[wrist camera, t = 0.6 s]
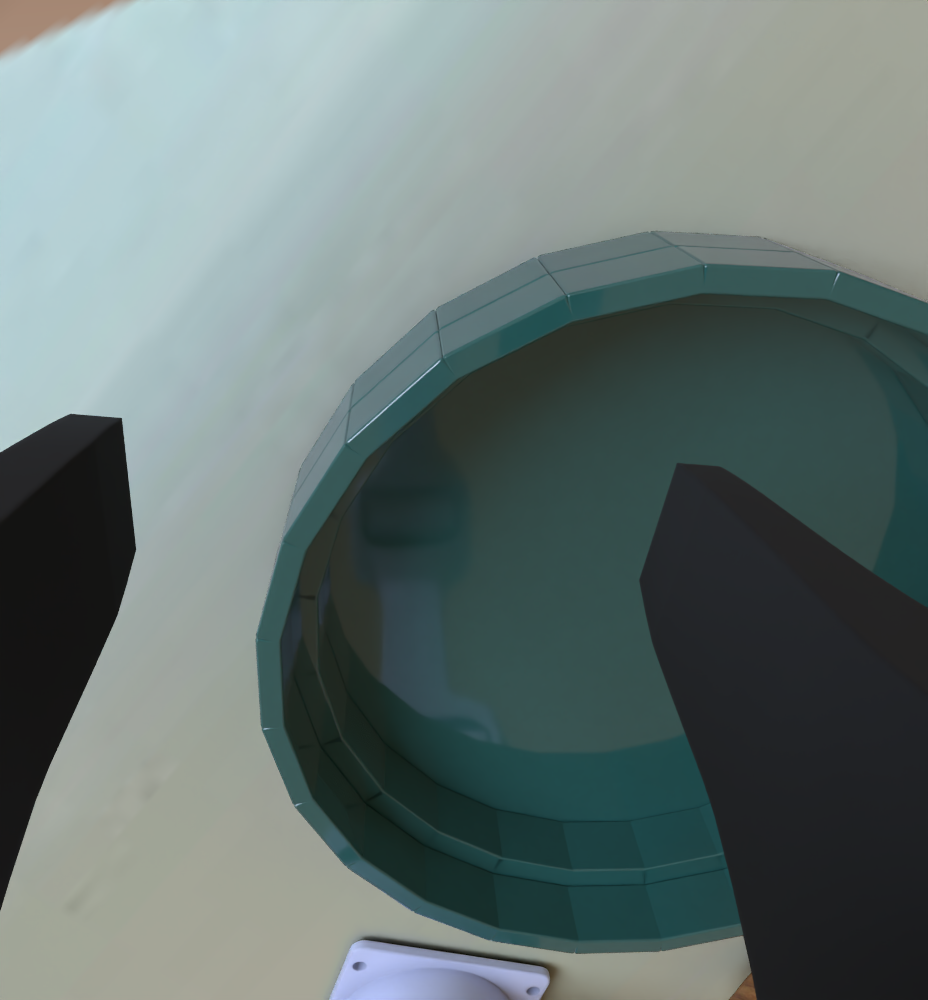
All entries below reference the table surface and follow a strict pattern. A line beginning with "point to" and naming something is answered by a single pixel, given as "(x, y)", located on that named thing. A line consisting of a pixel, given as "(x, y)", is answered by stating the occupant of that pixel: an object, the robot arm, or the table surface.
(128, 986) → the table surface
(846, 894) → the robot arm
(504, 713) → the teal bowl
